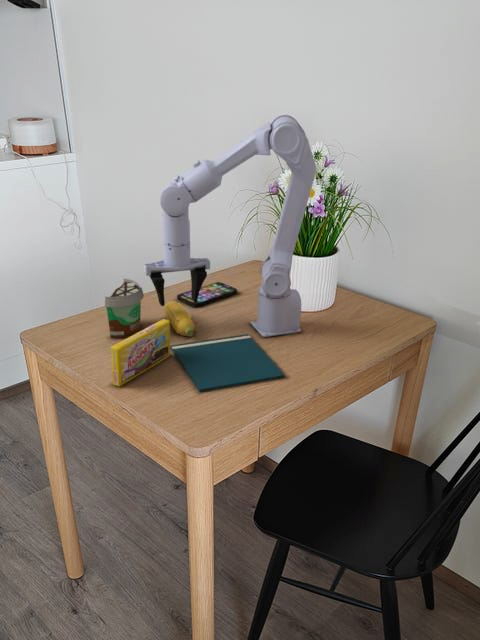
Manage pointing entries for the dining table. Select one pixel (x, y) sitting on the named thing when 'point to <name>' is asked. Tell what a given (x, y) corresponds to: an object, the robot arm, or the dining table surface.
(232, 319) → the dining table surface
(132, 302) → the food container
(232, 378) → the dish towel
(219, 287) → the smartphone
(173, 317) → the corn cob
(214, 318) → the dining table surface
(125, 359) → the candy box
